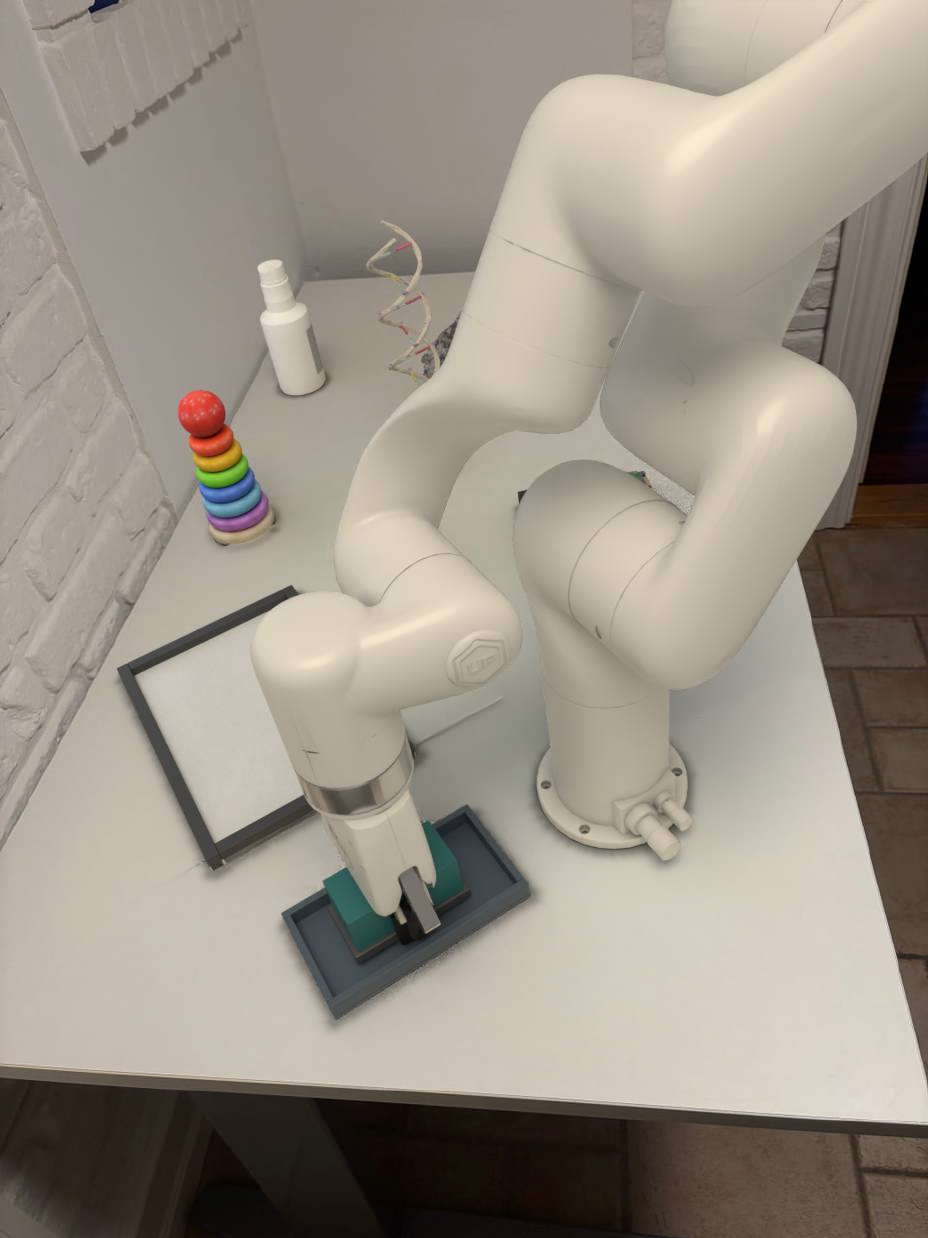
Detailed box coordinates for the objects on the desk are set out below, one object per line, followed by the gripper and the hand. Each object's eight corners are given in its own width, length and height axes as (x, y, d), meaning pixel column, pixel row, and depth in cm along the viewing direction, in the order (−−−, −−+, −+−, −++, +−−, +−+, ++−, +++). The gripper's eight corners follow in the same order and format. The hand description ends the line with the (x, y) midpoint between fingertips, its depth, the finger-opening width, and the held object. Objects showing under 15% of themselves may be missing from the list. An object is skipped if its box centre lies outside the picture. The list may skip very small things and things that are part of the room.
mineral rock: (425, 396, 133) (412, 329, 126) (429, 358, 140) (417, 293, 133) (517, 385, 131) (510, 317, 124) (516, 347, 139) (509, 281, 132)
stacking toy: (198, 541, 115) (141, 406, 102) (238, 502, 120) (188, 368, 107) (250, 554, 112) (197, 416, 99) (288, 514, 117) (243, 377, 104)
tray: (530, 897, 75) (528, 883, 73) (335, 1020, 70) (329, 1008, 68) (470, 817, 81) (467, 803, 80) (287, 925, 76) (280, 913, 75)
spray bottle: (335, 376, 140) (304, 256, 128) (306, 399, 136) (272, 278, 124) (300, 368, 143) (267, 251, 131) (271, 391, 140) (234, 272, 127)
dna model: (466, 473, 118) (426, 230, 97) (417, 489, 117) (367, 247, 96) (448, 446, 123) (407, 210, 102) (401, 462, 122) (350, 226, 101)
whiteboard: (416, 757, 86) (413, 745, 85) (212, 872, 81) (205, 860, 79) (295, 596, 105) (291, 584, 104) (122, 679, 99) (116, 668, 98)
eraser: (358, 965, 71) (344, 931, 68) (330, 915, 75) (315, 880, 71) (471, 895, 74) (463, 859, 71) (440, 850, 78) (430, 814, 74)
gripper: (253, 707, 67) (314, 853, 79) (359, 884, 55) (411, 1022, 68) (348, 659, 69) (393, 808, 81) (469, 819, 58) (500, 964, 70)
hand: (401, 904), depth 74 cm, fingers closed on eraser, 4 cm apart
